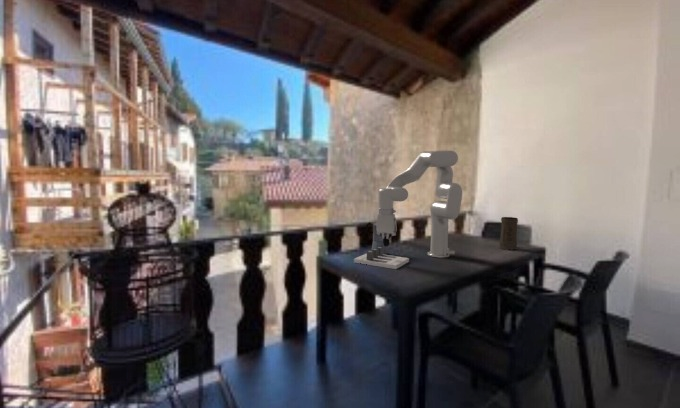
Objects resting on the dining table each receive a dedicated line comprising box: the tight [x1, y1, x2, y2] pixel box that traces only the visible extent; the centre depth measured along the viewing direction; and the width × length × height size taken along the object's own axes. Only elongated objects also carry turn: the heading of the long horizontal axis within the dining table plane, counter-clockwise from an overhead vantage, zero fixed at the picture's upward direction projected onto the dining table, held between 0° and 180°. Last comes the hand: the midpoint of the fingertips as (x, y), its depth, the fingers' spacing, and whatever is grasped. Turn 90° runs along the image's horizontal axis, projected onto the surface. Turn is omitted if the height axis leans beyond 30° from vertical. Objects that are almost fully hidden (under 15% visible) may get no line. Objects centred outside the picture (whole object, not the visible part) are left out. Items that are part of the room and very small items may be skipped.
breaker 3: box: [377, 247, 383, 256], centre depth 230 cm, size 2×3×4 cm
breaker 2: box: [372, 249, 378, 258], centre depth 225 cm, size 2×3×4 cm
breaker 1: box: [366, 250, 373, 260], centre depth 220 cm, size 2×3×4 cm
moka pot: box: [365, 221, 387, 255], centre depth 242 cm, size 10×15×20 cm, turn 78°
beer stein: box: [498, 216, 519, 250], centre depth 265 cm, size 15×11×20 cm
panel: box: [353, 252, 410, 270], centre depth 224 cm, size 24×18×2 cm
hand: (386, 245), depth 223 cm, fingers closed
